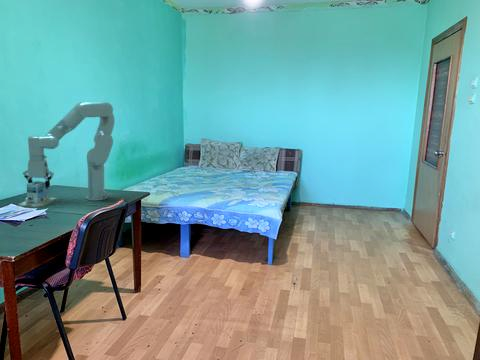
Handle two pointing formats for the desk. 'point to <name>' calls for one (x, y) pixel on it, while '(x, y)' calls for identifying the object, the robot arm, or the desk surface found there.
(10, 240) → the desk surface
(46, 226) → the desk surface
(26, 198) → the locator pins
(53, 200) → the locator board
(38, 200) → the light bulb box
